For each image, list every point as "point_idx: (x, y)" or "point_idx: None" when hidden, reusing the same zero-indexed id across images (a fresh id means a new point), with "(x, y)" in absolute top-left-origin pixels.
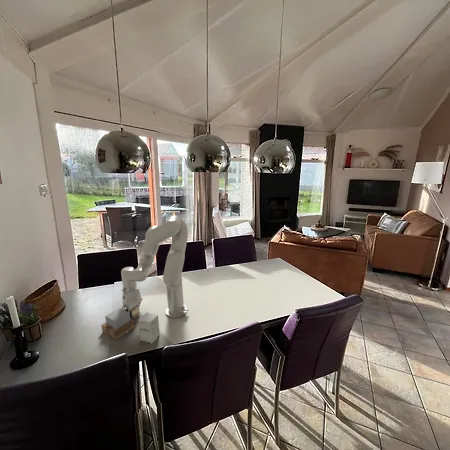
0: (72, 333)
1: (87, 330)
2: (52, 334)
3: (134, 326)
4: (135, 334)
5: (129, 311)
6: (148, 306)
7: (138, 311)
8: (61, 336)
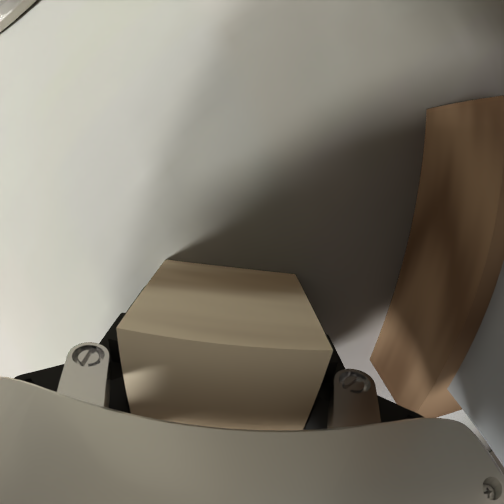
0: None
1: (468, 420)
2: None
3: (438, 108)
4: (475, 49)
5: (346, 386)
6: (11, 285)
7: (165, 288)
8: (484, 440)
